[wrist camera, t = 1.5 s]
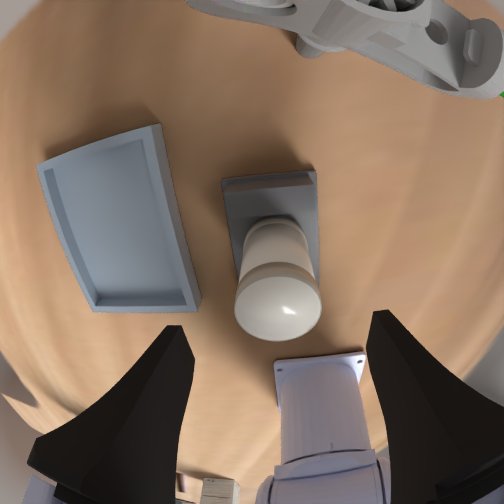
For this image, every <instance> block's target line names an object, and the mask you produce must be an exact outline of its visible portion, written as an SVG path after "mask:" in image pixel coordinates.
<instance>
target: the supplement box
mask: <svg viewBox="0 0 504 504" xmlns="http://www.w3.org/2000/svg"><path fill="white" fill-rule="evenodd" d="M239 493H240V486H239V485H238V484H237V483H236V482H235V481H234V480H229V479H216V478H204V480H203V487H202V494H201V500H200V504H239Z"/></svg>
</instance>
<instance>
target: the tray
mask: <svg viewBox="0 0 504 504" xmlns="http://www.w3.org/2000/svg"><path fill="white" fill-rule="evenodd" d="M36 167H37V171H38V175H39V179H40V182H41V186H42V189H43V193H44V196H45V199H46V202H47V205H48V208H49V211H50V214H51V217H52V220H53V223H54V226H55V229H56V231H57V234H58V237H59V239H60V242H61V244H62V247H63V249H64V252H65V254H66V257H67V259H68V261H69V264H70V266H71V268H72V270H73V273H74V275H75V277H76V279H77V281H78V283H79V285H80V288H81V290H82V292H83V294H84V296H85V298H86V300H87V302H88V304H89V306H90V307H91V309H92V311H93V312H108V313H174V312H198V309H199V306H200V302H201V299H202V297H201V293H200V290H199V286H198V283H197V279H196V275H195V272H194V268H193V264H192V261H191V257H190V253H189V249H188V245H187V241H186V237H185V233H184V229H183V225H182V221H181V217H180V213H179V208H178V204H177V200H176V195H175V191H174V186H173V182H172V177H171V172H170V168H169V163H168V158H167V153H166V148H165V143H164V137H163V132H162V126H161V123H159V124H154V125H150V126H146V127H143V128H139V129H135V130H132V131H128V132H125V133H121V134H118V135H115V136H112V137H108V138H105V139H102V140H99V141H96V142H93V143H90V144H88V145H85V146H82V147H79V148H77V149H74V150H71V151H69V152H66V153H64V154H61V155H59V156H56V157H54V158H51V159H49V160H47V161H44V162H42V163H40V164H38V165H36Z"/></svg>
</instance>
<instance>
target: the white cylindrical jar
mask: <svg viewBox="0 0 504 504" xmlns="http://www.w3.org/2000/svg"><path fill="white" fill-rule="evenodd" d="M321 312H322V303H321V298H320V294H319V289H318V285H317V283H316V281H315V277H314V273H313V268H312V264H311V260H310V256H309V251H308V244H307V240H306V236H305V233H304V231H303V229H302V228H301V226H300V225H299V224H298V223H297V222H295V221H294V220H292V219H290V218H288V217H285V216H281V215H271V216H266V217H263V218H261V219H259V220H257V221H256V222H254V223H253V224H252V225H251V226H250V228H249V229H248V231H247V233H246V235H245V240H244V246H243V258H242V264H241V271H240V277H239V284H238V286H237V290H236V296H235V302H234V315H235V318H236V321H237V323H238V324H239V325H240V327H241V328H242V329H243V330H244V331H246V332H247V333H248V334H250V335H252V336H254V337H256V338H259V339H262V340H266V341H287V340H292V339H295V338H297V337H300V336H302V335H304V334H305V333H307V332H308V331H310V330H311V329H312V328H313V327H314V326H315V325H316V323H317V322H318V320H319V318H320V316H321Z"/></svg>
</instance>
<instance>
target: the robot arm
mask: <svg viewBox="0 0 504 504" xmlns="http://www.w3.org/2000/svg"><path fill="white" fill-rule="evenodd" d="M366 352H367V357H368V363H369V368H370V372H371V375H372V379H373V382H374V385H375V389H376V392H377V395H378V399H379V402H380V405H381V409H382V412H383V416H384V420H385V424H386V430H387V438H388V445H389V455H390V460H388V459H386V458H385V457H384V456H383V457H379V458H377V459H376V455H375V449H371V444H370V438H369V433H368V428H367V422H366V417H365V412H364V408H363V403H362V398H361V393H360V389H359V381H360V378H361V374H362V371H363V367H364V363H365V359H366V354H365V352H363V351H361V352H354V353H346V354H338V355H330V356H321V357H311V358H300V359H287V360H277V361H275V362H274V374H275V382H276V390H277V399H278V407H279V412H280V413H281V465H278V466H275V469H274V475H270V476H268V477H267V478H266V479H265V481H264V482H263V483H262V484H261V485H260V487H259V489H258V492H257V496H256V503H255V504H504V407H503V406H501V405H499V404H497V403H495V402H493V401H491V400H490V399H488V398H486V397H484V396H483V395H482V394H480V393H478V392H477V391H475V390H474V389H473V388H471V387H470V386H468V385H467V384H465V383H464V382H463V381H461V380H460V379H459V378H458V377H456V376H455V375H454V374H453V373H451V372H450V371H449V370H448V369H447V368H445V367H444V366H443V365H442V364H441V363H440V362H439V361H438V360H437V359H436V358H434V357H433V356H432V355H431V354H430V353H429V352H428V351H427V350H426V349H425V348H424V347H423V346H422V345H421V344H420V343H419V342H418V341H417V340H416V339H415V337H414V336H413V335H412V334H411V333H410V332H409V331H408V330H407V329H406V328H405V327H404V326H403V325H402V324H401V322H400V321H399V320H398V319H397V318H396V317H395V316H394V315H393V314H392V313H391V312H390V311H389V310H388V309H387V310H381V311H373V316H372V321H371V326H370V330H369V335H368V340H367V344H366ZM194 364H195V358H194V355H193V353H192V350H191V348H190V346H189V343H188V341H187V338H186V336H185V333H184V331H183V328H182V326H181V325H167V326H166V327H165V328H164V330H163V331H162V332H161V333H160V334H159V335H158V337H157V338H156V339H155V340H154V342H153V343H152V344H151V345H150V346H149V348H148V349H147V350H146V351H145V352H144V354H143V355H142V356H141V357H140V358H139V359H138V361H137V362H136V363H135V364H134V365H133V366H132V368H131V369H130V370H129V371H128V372H127V373H126V374H125V375H124V376H123V377H122V378H121V379H120V380H119V381H118V382H117V383H116V384H115V385H114V386H113V387H112V388H111V389H110V390H109V391H108V392H107V393H106V394H105V395H104V396H102V397H101V398H100V399H99V400H98V401H97V402H95V403H94V404H93V405H91V406H90V407H89V408H87V409H86V410H85V411H84V412H82V413H81V414H79V415H78V416H77V417H75V418H73V419H72V420H70V421H69V422H67V423H66V424H64V425H62V426H60V427H59V428H57V429H55V430H53V431H51V432H49V433H47V434H45V435H43V436H41V437H38V438H36V441H35V443H34V445H33V448H32V450H31V453H30V455H29V458H28V461H27V464H28V465H29V466H30V467H32V468H34V469H35V470H37V471H38V472H40V473H42V474H43V475H45V476H47V477H48V478H50V479H52V480H54V481H56V482H57V486H56V487H55V486H53V485H52V484H50V483H48V482H46V481H44V480H43V479H41V478H39V477H38V476H36V475H34V474H32V475H31V477H30V480H29V483H28V486H27V489H26V492H25V495H24V498H23V502H22V504H176V500H175V483H176V463H177V452H178V443H179V435H180V430H181V425H182V421H183V417H184V413H185V409H186V406H187V402H188V398H189V394H190V390H191V385H192V381H193V373H194Z"/></svg>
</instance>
